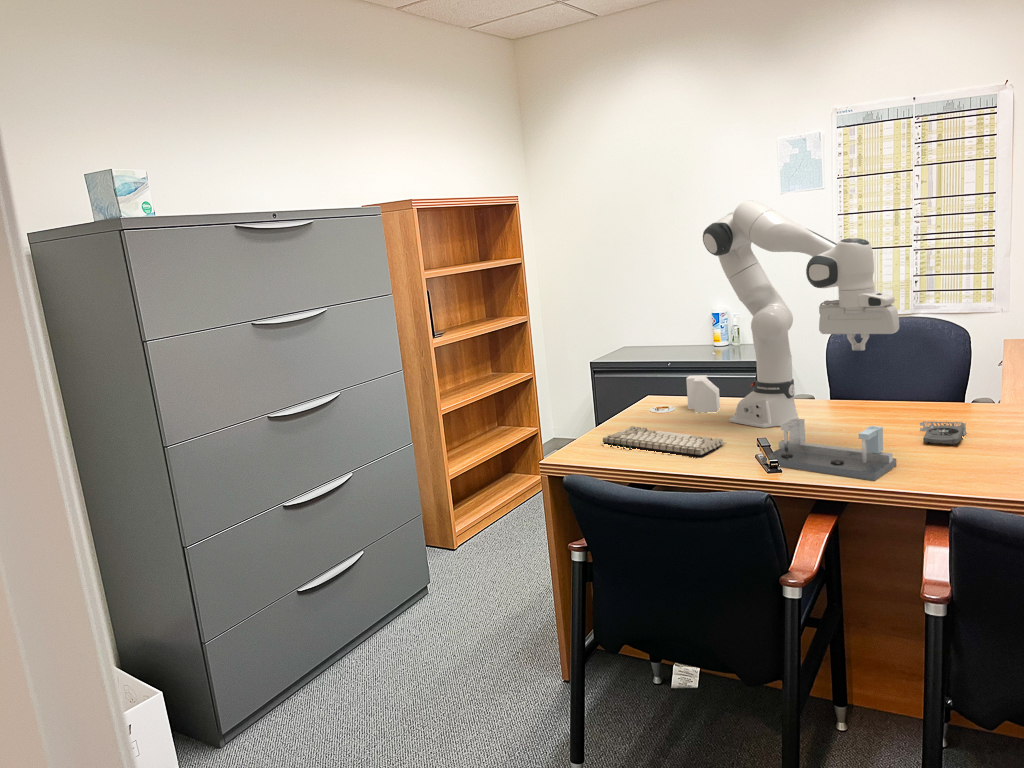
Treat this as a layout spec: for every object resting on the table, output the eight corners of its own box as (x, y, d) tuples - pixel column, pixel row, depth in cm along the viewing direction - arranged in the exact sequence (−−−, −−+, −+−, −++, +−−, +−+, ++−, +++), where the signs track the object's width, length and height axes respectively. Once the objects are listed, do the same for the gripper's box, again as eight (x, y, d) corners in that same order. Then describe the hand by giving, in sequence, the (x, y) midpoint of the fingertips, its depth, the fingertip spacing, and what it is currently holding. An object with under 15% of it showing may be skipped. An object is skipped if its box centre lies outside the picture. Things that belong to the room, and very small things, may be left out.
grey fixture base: (762, 464, 208) (761, 426, 206) (787, 451, 217) (785, 415, 215) (874, 480, 186) (873, 439, 184) (896, 465, 195) (895, 426, 193)
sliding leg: (857, 462, 191) (857, 433, 190) (871, 454, 197) (870, 425, 196) (869, 464, 189) (869, 434, 188) (883, 455, 195) (882, 426, 194)
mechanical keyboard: (731, 444, 232) (730, 434, 231) (700, 461, 218) (700, 450, 217) (629, 434, 257) (628, 424, 257) (596, 448, 244) (595, 438, 243)
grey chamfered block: (690, 406, 285) (688, 375, 283) (721, 406, 280) (719, 374, 278) (685, 413, 275) (683, 381, 273) (717, 413, 271) (715, 380, 269)
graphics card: (920, 420, 224) (967, 421, 217) (920, 432, 224) (967, 433, 217) (911, 435, 210) (960, 437, 203) (911, 448, 211) (961, 450, 204)
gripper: (813, 302, 206) (816, 351, 209) (891, 299, 191) (893, 352, 194) (824, 299, 210) (826, 347, 213) (900, 296, 195) (902, 348, 198)
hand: (858, 350), depth 203 cm, fingers closed
